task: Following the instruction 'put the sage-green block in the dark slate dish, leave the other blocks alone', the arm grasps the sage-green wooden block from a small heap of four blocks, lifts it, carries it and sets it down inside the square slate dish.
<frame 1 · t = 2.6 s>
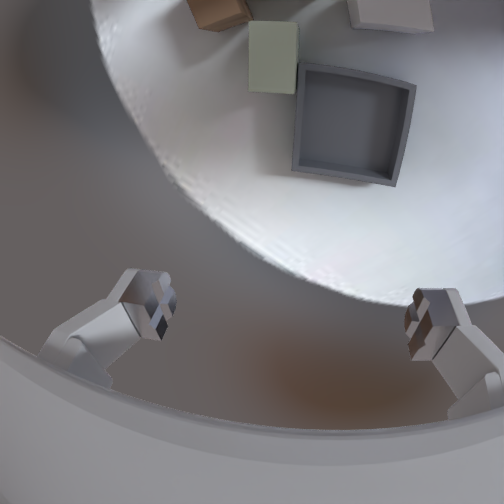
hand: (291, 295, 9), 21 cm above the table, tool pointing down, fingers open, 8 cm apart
slate dish: (350, 120, 23), on the table
block sage: (278, 56, 21), on the table
block walnut: (225, 1, 17), on the table
block grey: (380, 13, 16), on the table
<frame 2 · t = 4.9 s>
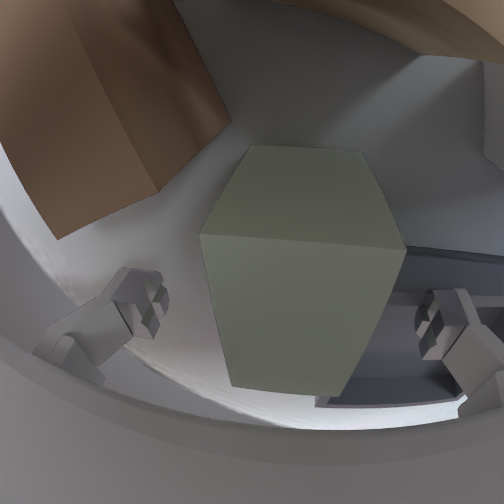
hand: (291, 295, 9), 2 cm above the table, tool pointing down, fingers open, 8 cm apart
slate dish: (423, 327, 12), on the table
block sage: (302, 225, 10), on the table
block walnut: (148, 66, 7), on the table
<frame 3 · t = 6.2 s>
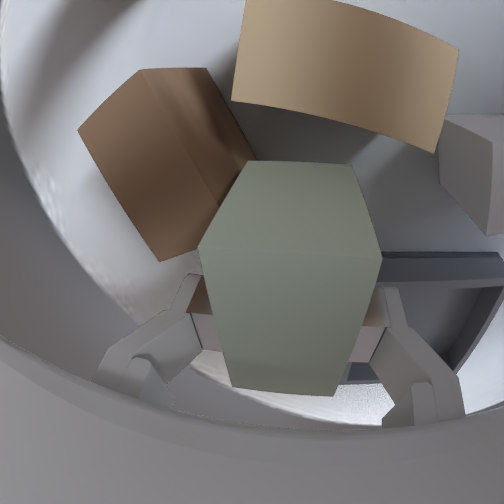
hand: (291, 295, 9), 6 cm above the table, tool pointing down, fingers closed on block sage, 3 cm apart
slate dish: (415, 313, 16), on the table
block sage: (298, 236, 11), point 3 cm above the table, touching gripper
block oak: (333, 68, 10), on the table
block walnut: (205, 139, 12), on the table
block grey: (483, 146, 10), on the table
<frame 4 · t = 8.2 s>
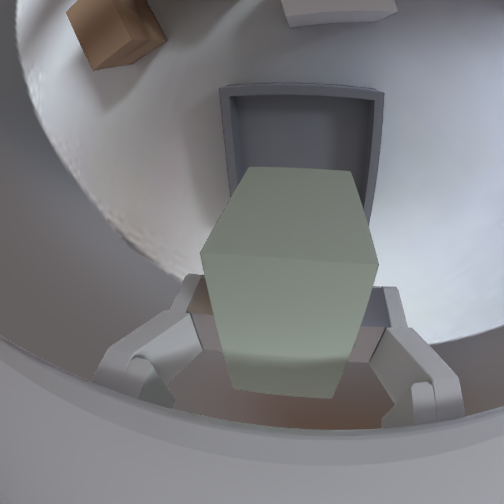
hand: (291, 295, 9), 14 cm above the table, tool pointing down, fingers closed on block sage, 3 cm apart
slate dish: (302, 150, 20), on the table
block sage: (297, 240, 11), point 11 cm above the table, touching gripper
block walnut: (135, 25, 15), on the table
block grey: (327, 1, 12), on the table
when the fingers open (4 cm above the table, at t = 10.2 s): block sage stays where it is, resting on slate dish.
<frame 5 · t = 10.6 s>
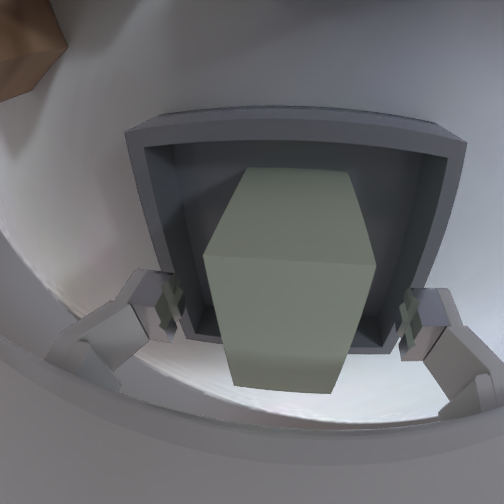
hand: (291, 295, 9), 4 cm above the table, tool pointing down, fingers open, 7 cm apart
slate dish: (296, 230, 12), on the table
block sage: (295, 239, 11), point 1 cm above the table, touching slate dish
block walnut: (33, 30, 7), on the table
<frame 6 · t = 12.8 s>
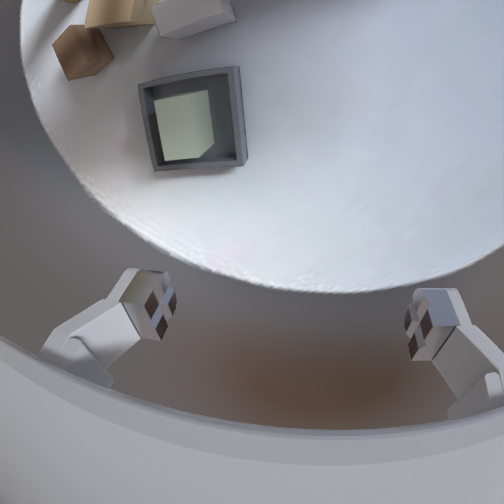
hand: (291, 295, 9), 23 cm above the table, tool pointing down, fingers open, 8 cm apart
slate dish: (197, 117, 27), on the table
block sage: (195, 118, 27), point 1 cm above the table, touching slate dish
block oak: (134, 13, 20), on the table
block walnut: (95, 49, 23), on the table
block grey: (204, 16, 20), on the table
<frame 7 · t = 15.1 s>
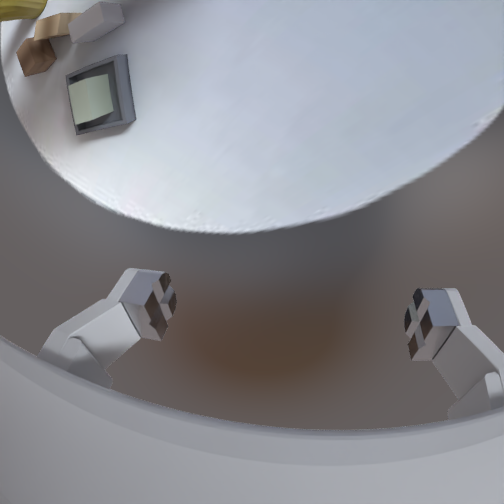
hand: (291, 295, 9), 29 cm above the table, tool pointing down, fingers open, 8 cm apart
slate dish: (103, 94, 32), on the table
block sage: (101, 95, 32), point 1 cm above the table, touching slate dish
block oak: (68, 25, 24), on the table
vase: (38, 4, 20), on the table
block walnut: (46, 53, 27), on the table
block grey: (106, 22, 25), on the table
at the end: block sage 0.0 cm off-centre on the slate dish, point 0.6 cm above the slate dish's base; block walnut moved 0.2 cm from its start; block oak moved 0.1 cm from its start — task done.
